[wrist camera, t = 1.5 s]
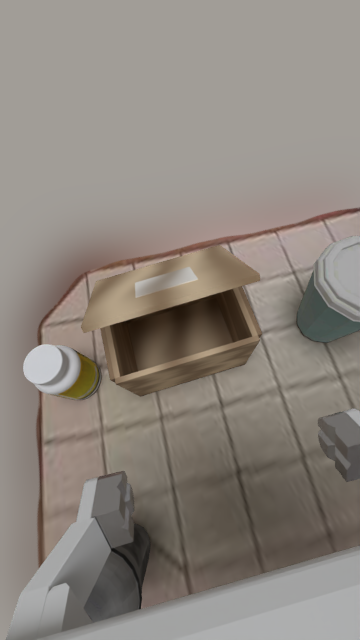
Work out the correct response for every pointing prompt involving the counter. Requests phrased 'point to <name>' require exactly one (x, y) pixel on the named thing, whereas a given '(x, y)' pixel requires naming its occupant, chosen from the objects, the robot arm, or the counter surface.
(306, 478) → the counter surface
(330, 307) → the disposable coffee cup
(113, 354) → the cardboard carton
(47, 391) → the pill bottle
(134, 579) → the beverage cup
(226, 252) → the lid flap
